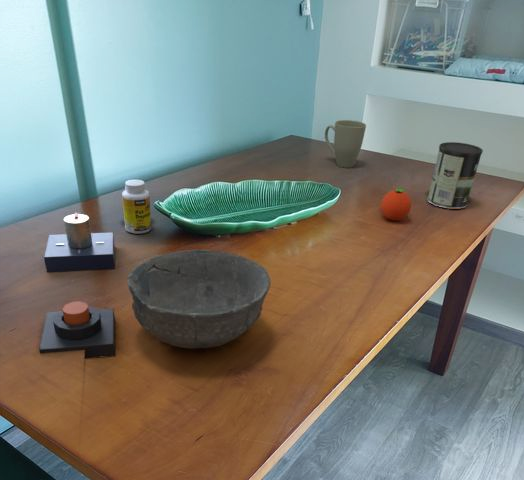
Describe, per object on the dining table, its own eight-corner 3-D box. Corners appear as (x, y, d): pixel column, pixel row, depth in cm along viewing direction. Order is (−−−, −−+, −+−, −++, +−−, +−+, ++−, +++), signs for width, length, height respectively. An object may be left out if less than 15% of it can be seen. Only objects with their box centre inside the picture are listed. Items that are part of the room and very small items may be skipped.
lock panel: (46, 272, 97) (43, 256, 95) (51, 248, 105) (49, 233, 103) (114, 268, 100) (113, 253, 98) (114, 246, 108) (113, 231, 106)
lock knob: (92, 248, 99) (88, 220, 96) (67, 249, 98) (62, 222, 95) (92, 238, 103) (88, 211, 100) (68, 239, 102) (63, 212, 99)
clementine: (383, 210, 132) (389, 182, 128) (411, 216, 130) (418, 187, 126) (375, 221, 126) (380, 191, 122) (404, 227, 124) (410, 197, 120)
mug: (355, 160, 167) (362, 120, 160) (362, 170, 159) (369, 128, 152) (321, 159, 166) (326, 118, 159) (326, 169, 158) (331, 126, 151)
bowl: (265, 302, 92) (268, 249, 87) (268, 376, 76) (273, 316, 70) (144, 298, 91) (139, 244, 86) (120, 372, 75) (113, 311, 69)
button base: (42, 362, 75) (36, 338, 73) (48, 324, 83) (44, 302, 81) (115, 356, 78) (112, 333, 75) (114, 319, 85) (112, 298, 83)
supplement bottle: (136, 237, 112) (132, 188, 106) (120, 229, 115) (114, 181, 109) (157, 230, 115) (154, 182, 109) (140, 222, 118) (137, 176, 112)
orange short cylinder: (63, 327, 77) (61, 314, 75) (65, 314, 79) (63, 302, 78) (89, 325, 77) (87, 313, 76) (90, 312, 80) (88, 300, 79)
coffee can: (464, 198, 143) (479, 144, 135) (469, 212, 135) (486, 154, 126) (425, 194, 144) (437, 140, 136) (428, 207, 136) (441, 150, 128)
